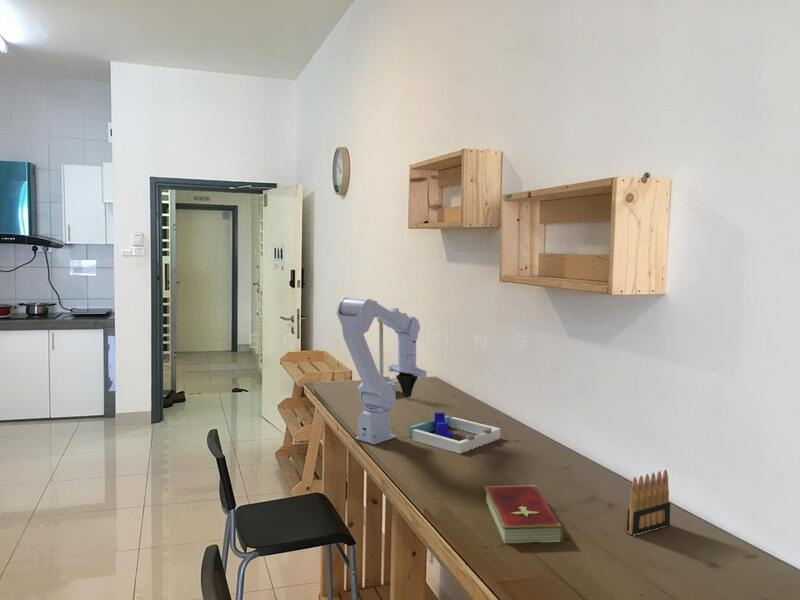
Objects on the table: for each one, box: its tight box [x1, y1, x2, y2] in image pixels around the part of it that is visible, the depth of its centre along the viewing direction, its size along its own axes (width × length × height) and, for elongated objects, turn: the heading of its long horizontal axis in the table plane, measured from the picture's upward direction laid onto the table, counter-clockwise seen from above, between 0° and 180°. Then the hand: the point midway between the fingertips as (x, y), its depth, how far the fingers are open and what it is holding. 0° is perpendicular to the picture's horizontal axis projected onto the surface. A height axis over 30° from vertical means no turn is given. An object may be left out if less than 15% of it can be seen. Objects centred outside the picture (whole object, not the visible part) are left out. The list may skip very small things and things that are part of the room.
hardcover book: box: [483, 484, 564, 544], centre depth 139 cm, size 12×21×4 cm, turn 3°
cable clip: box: [434, 411, 454, 440], centre depth 196 cm, size 12×4×6 cm, turn 1°
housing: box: [412, 416, 501, 455], centre depth 194 cm, size 19×18×4 cm
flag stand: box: [376, 317, 399, 395], centre depth 248 cm, size 13×13×30 cm
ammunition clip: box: [626, 469, 671, 534], centre depth 134 cm, size 11×2×12 cm, turn 118°
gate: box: [409, 415, 451, 438], centre depth 201 cm, size 17×1×3 cm, turn 134°
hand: (407, 396), depth 207 cm, fingers closed
